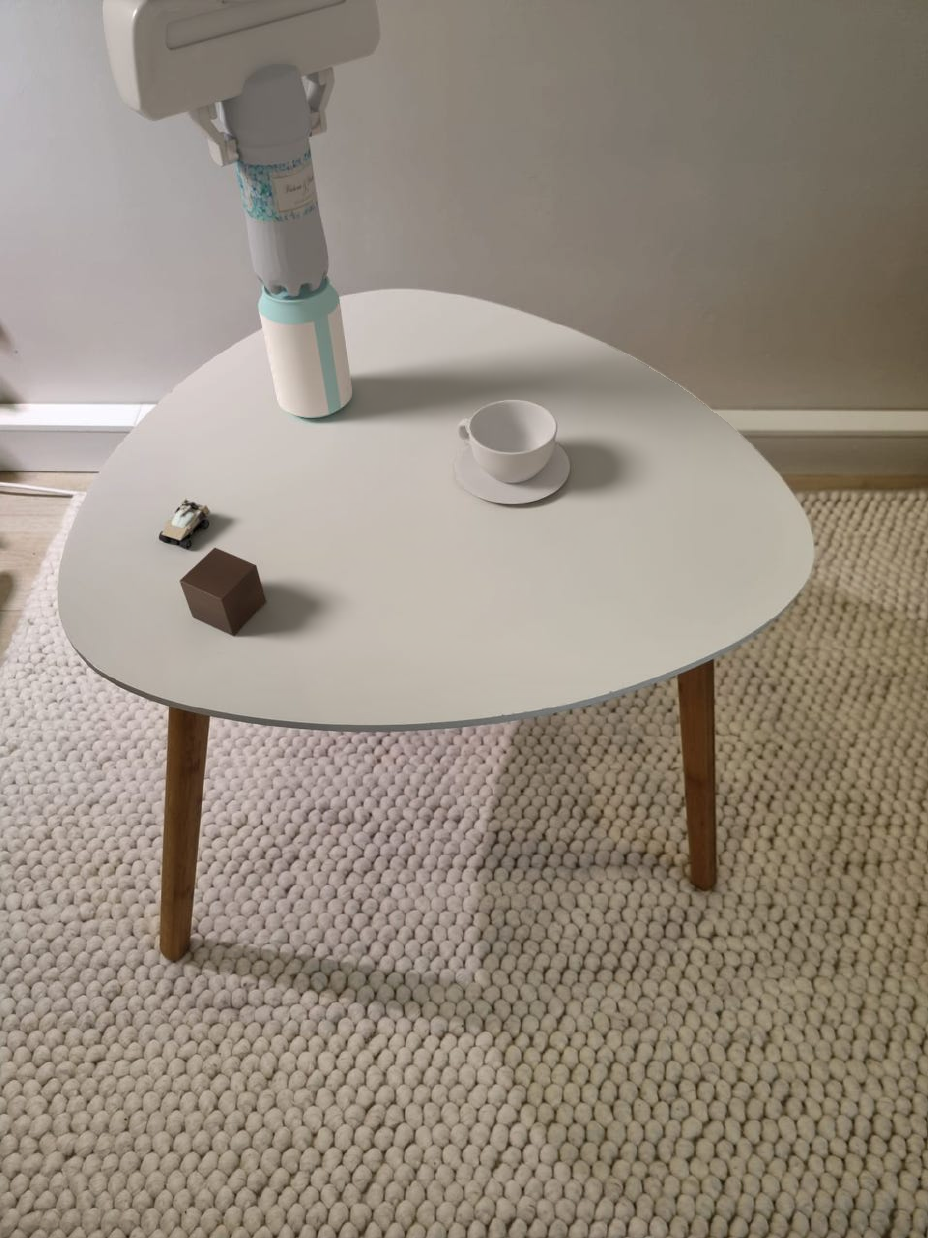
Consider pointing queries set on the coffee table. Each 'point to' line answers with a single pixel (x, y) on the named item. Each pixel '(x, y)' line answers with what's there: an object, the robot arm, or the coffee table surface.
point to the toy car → (185, 524)
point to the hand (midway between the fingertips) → (270, 147)
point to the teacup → (511, 453)
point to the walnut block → (223, 591)
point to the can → (307, 349)
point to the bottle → (278, 179)
